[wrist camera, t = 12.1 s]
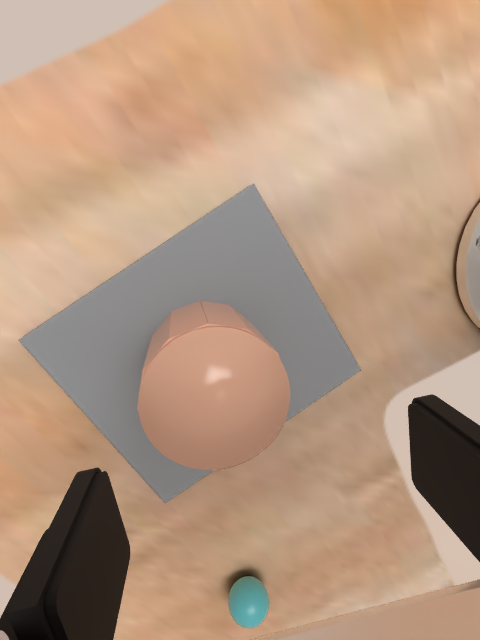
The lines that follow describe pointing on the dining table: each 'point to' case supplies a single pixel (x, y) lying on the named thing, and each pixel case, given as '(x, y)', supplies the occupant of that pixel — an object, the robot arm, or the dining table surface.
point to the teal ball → (248, 602)
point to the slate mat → (178, 291)
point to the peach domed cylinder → (211, 388)
